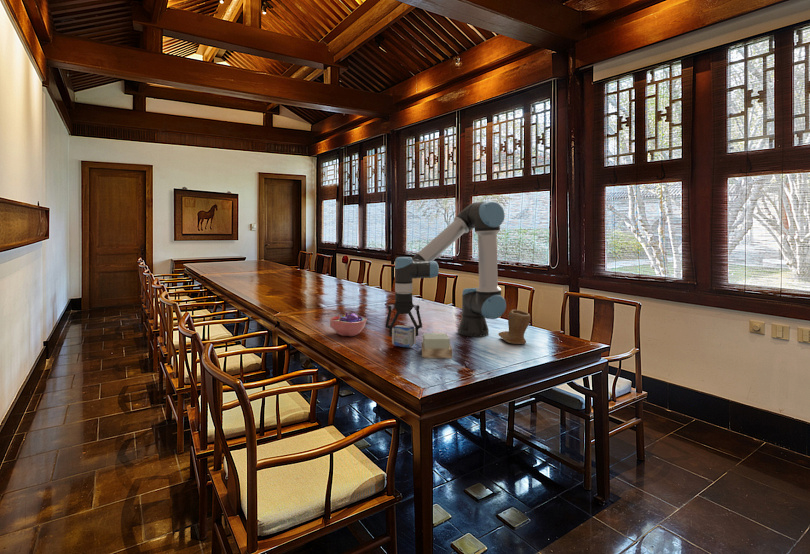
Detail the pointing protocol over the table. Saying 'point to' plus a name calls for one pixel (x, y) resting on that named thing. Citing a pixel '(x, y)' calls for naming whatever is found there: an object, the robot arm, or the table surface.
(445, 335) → the upper block
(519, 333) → the tan boot-shaped piece
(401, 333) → the medicine box
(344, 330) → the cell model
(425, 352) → the lower block
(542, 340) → the table surface
